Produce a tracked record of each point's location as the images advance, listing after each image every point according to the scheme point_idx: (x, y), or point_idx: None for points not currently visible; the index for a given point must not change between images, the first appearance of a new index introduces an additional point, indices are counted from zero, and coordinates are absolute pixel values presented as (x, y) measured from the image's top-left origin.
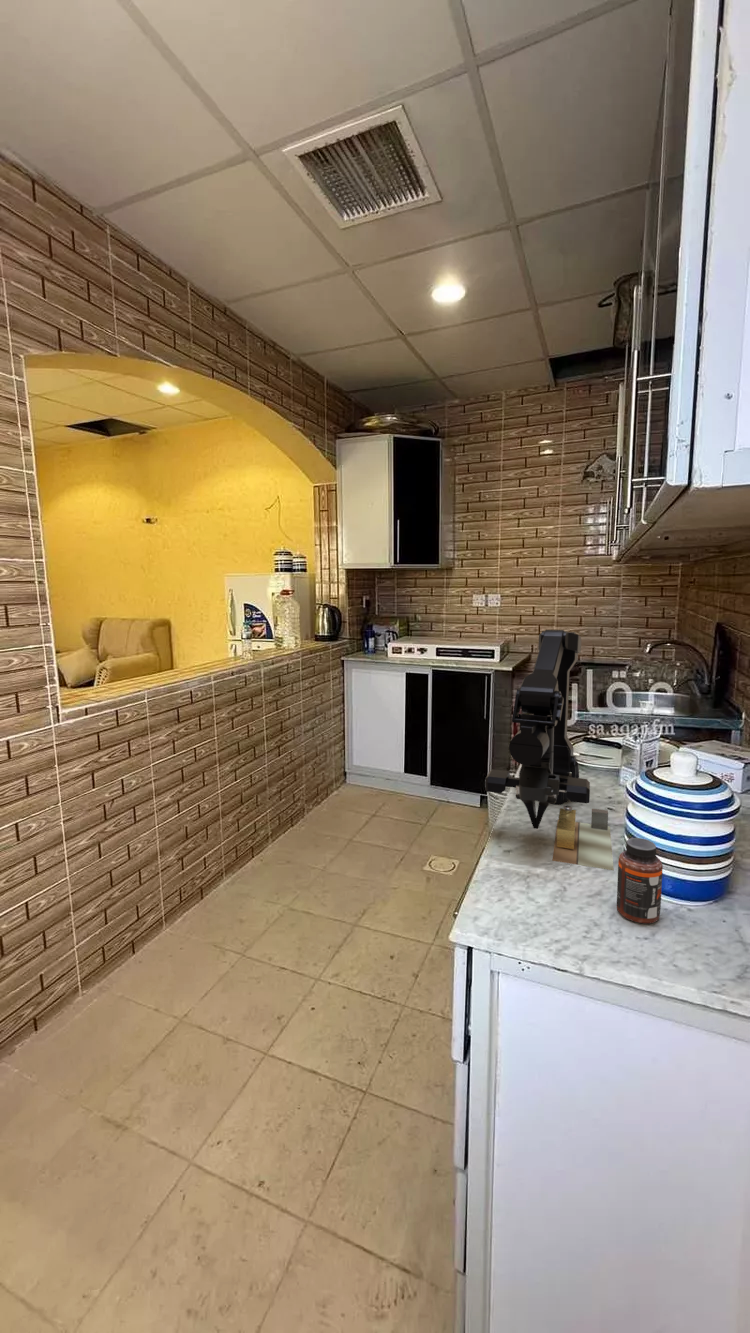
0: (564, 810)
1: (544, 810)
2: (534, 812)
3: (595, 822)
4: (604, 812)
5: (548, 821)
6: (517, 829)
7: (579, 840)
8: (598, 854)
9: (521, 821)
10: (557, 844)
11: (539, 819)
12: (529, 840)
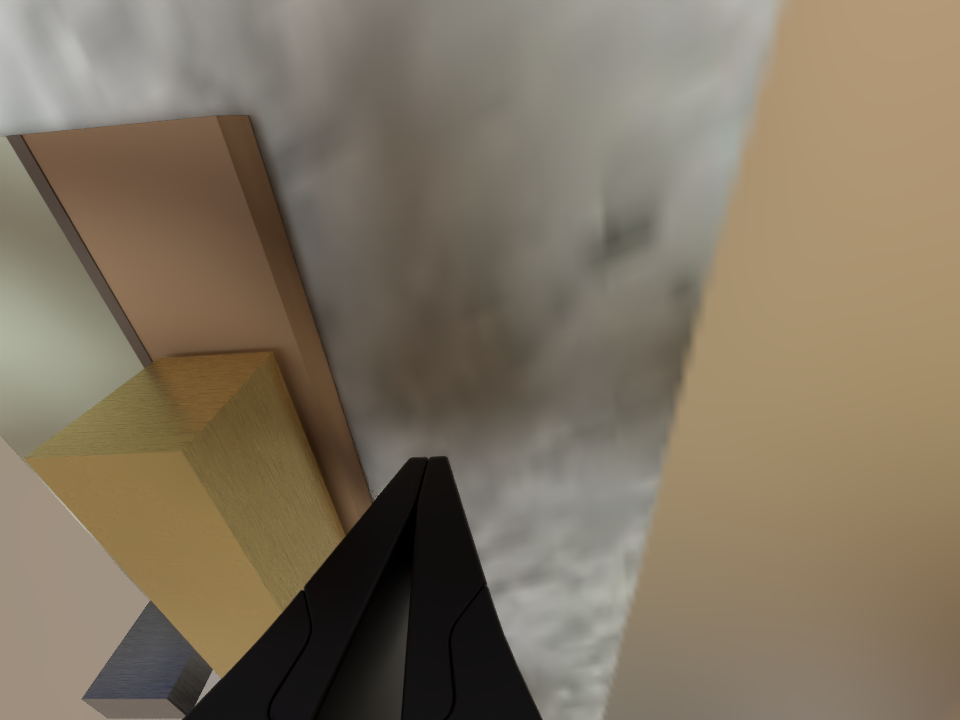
0: None
1: (242, 664)
2: (414, 611)
3: None
4: (105, 703)
5: None
6: (578, 509)
7: None
8: (15, 360)
9: (566, 575)
10: (260, 361)
11: (365, 530)
12: (495, 426)
